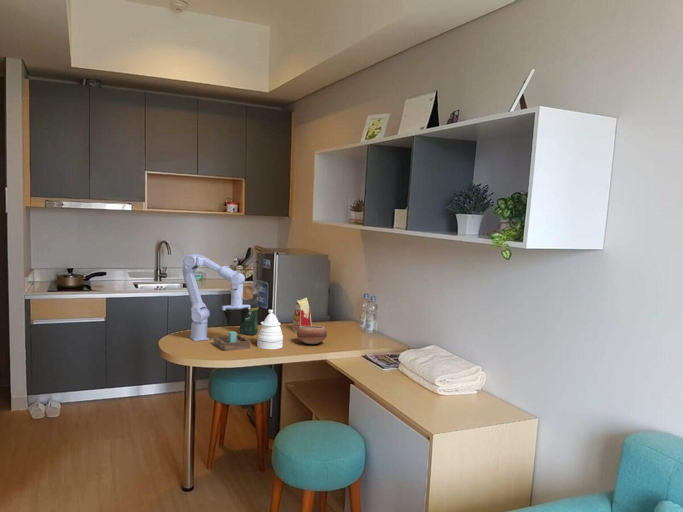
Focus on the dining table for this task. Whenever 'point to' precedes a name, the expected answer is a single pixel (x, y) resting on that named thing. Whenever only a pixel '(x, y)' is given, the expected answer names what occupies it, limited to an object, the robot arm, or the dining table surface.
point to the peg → (232, 337)
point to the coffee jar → (250, 319)
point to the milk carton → (301, 314)
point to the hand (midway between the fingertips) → (235, 323)
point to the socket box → (239, 344)
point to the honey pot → (270, 333)
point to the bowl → (311, 334)
